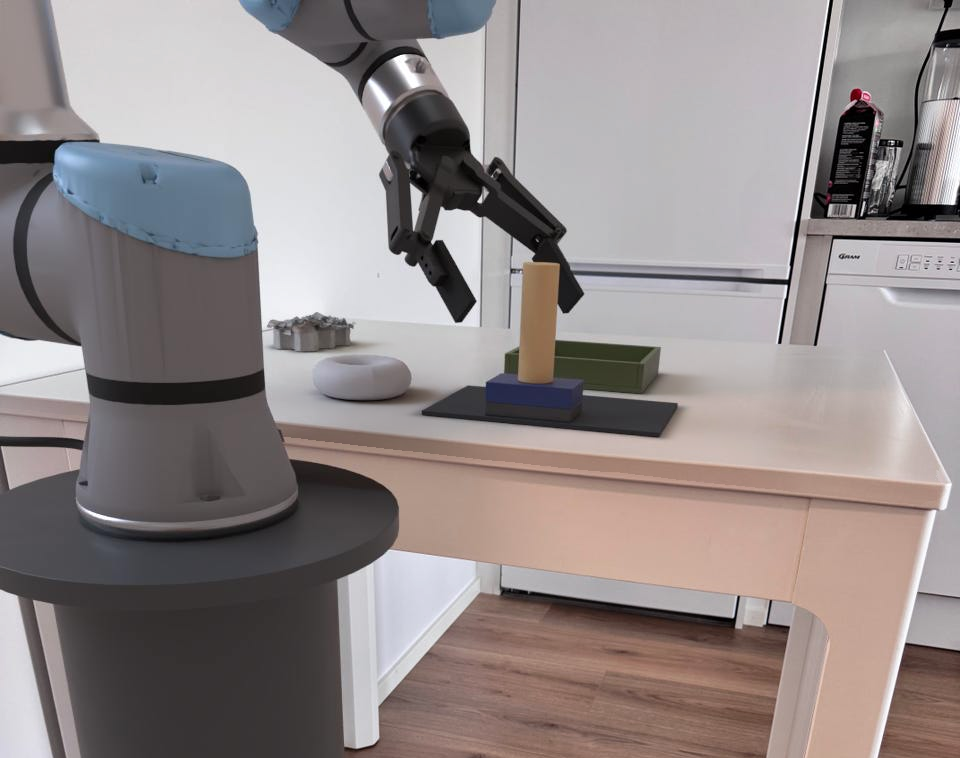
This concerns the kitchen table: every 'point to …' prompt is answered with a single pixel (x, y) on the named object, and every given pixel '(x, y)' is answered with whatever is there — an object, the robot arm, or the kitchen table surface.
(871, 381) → the kitchen table surface
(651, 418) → the mat
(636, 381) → the tray
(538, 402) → the brush
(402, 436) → the kitchen table surface
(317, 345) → the egg carton
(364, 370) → the donut
